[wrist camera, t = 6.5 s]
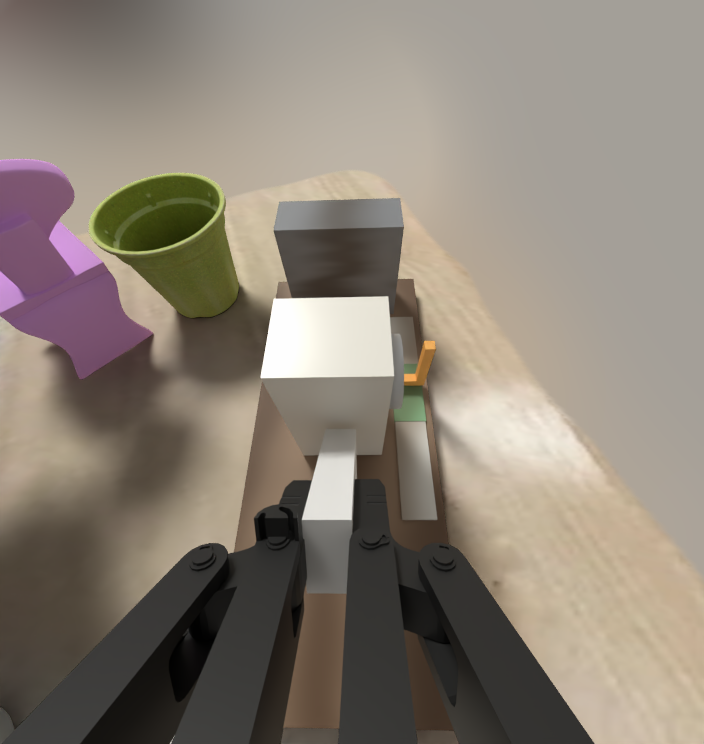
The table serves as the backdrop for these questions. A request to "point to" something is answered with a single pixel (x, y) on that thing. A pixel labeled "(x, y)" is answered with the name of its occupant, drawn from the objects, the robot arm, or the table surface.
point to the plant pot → (172, 239)
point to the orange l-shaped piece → (421, 365)
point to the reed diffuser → (5, 725)
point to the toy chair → (56, 271)
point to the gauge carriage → (334, 368)
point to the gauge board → (393, 468)
